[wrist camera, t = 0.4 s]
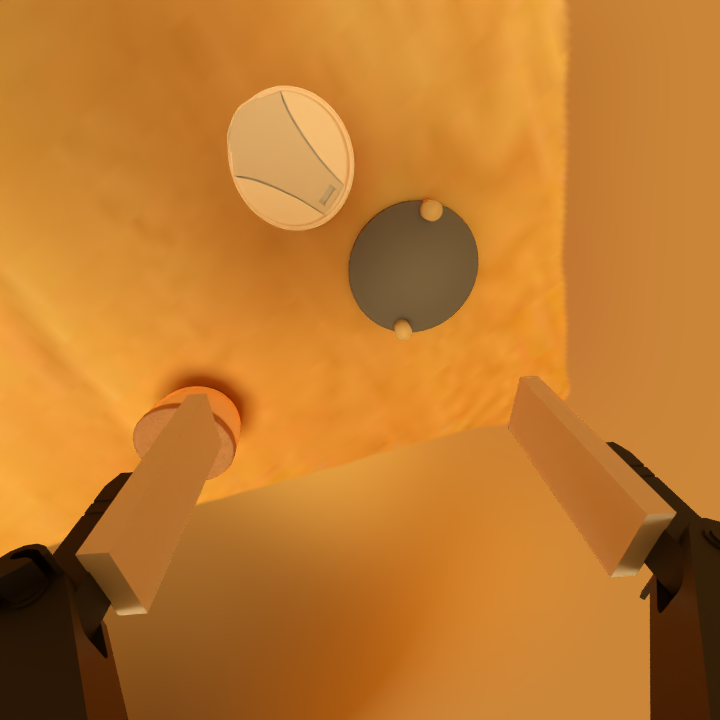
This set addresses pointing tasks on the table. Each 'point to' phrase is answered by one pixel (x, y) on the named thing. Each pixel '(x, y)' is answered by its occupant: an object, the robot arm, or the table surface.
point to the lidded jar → (222, 414)
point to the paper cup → (290, 157)
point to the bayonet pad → (413, 266)
